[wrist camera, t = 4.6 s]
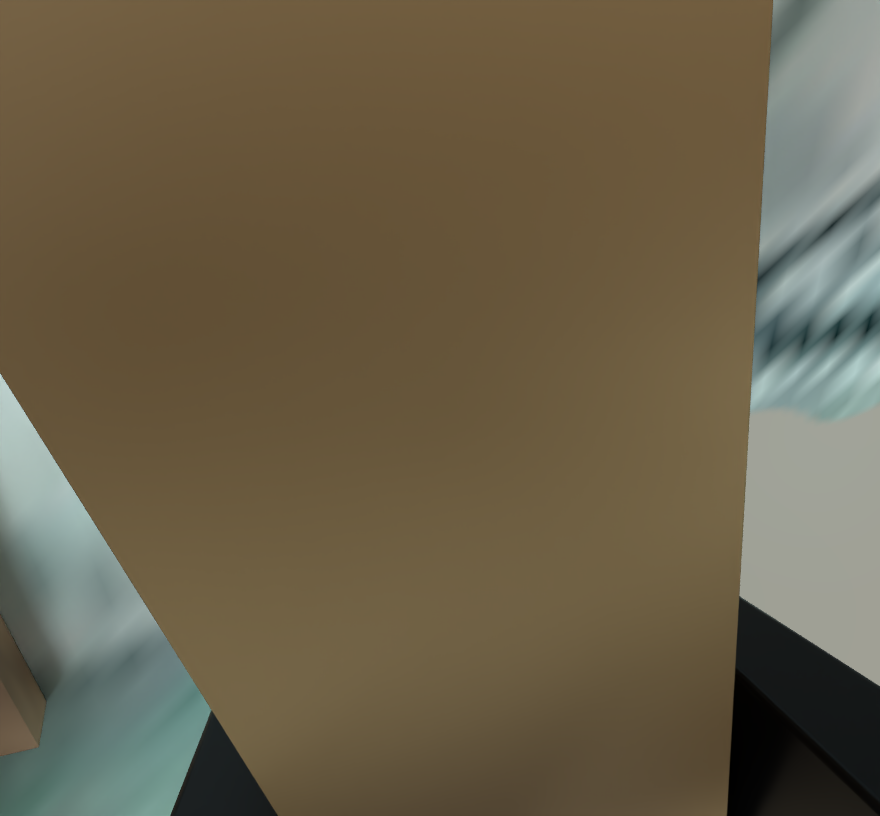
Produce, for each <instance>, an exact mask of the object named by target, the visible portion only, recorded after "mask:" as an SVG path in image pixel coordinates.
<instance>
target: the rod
mask: <svg viewBox="0 0 880 816" xmlns="http://www.w3.org/2000/svg"><path fill="white" fill-rule="evenodd" d="M772 12H773V0H0V374H1V375H2V377H3V378H4V380H5V382H6V383H7V385H8V386H9V388H10V389H11V391H12V393H13V394H14V396H15V397H16V399H17V401H18V402H19V404H20V405H21V407H22V409H23V410H24V412H25V413H26V415H27V417H28V418H29V420H30V421H31V423H32V425H33V426H34V428H35V429H36V431H37V433H38V434H39V436H40V437H41V439H42V440H43V442H44V444H45V445H46V447H47V448H48V450H49V452H50V453H51V455H52V456H53V458H54V460H55V461H56V463H57V464H58V466H59V468H60V469H61V471H62V472H63V474H64V476H65V477H66V479H67V480H68V482H69V484H70V485H71V487H72V488H73V490H74V491H75V493H76V495H77V496H78V498H79V499H80V501H81V503H82V504H83V506H84V507H85V509H86V511H87V512H88V514H89V515H90V517H91V519H92V520H93V522H94V523H95V525H96V527H97V528H98V530H99V531H100V533H101V534H102V536H103V538H104V539H105V541H106V542H107V544H108V546H109V547H110V549H111V550H112V552H113V554H114V555H115V557H116V558H117V560H118V562H119V563H120V565H121V566H122V568H123V570H124V571H125V573H126V574H127V576H128V578H129V579H130V581H131V582H132V584H133V585H134V587H135V589H136V590H137V592H138V593H139V595H140V597H141V598H142V600H143V601H144V603H145V605H146V606H147V608H148V609H149V611H150V613H151V614H152V616H153V617H154V619H155V621H156V622H157V624H158V625H159V627H160V629H161V630H162V632H163V633H164V635H165V636H166V638H167V640H168V641H169V643H170V644H171V646H172V648H173V649H174V651H175V652H176V654H177V656H178V657H179V659H180V660H181V662H182V664H183V665H184V667H185V668H186V670H187V672H188V673H189V675H190V676H191V678H192V679H193V681H194V683H195V684H196V686H197V687H198V689H199V691H200V692H201V694H202V695H203V697H204V699H205V700H206V702H207V703H208V705H209V707H210V708H211V710H212V711H213V713H214V715H215V716H216V718H217V719H218V721H219V723H220V724H221V726H222V727H223V729H224V730H225V732H226V734H227V735H228V737H229V738H230V740H231V742H232V743H233V745H234V746H235V748H236V750H237V751H238V753H239V754H240V756H241V758H242V759H243V761H244V762H245V764H246V766H247V767H248V769H249V770H250V772H251V773H252V775H253V777H254V778H255V780H256V781H257V783H258V785H259V786H260V788H261V789H262V791H263V793H264V794H265V796H266V797H267V799H268V801H269V802H270V804H271V805H272V807H273V809H274V810H275V812H276V813H277V815H278V816H727V802H728V784H729V767H730V749H731V732H732V714H733V696H734V679H735V661H736V644H737V626H738V609H739V591H740V573H741V556H742V537H743V520H744V503H745V486H746V468H747V451H748V432H749V416H750V398H751V380H752V363H753V345H754V328H755V310H756V293H757V275H758V258H759V240H760V222H761V205H762V187H763V170H764V152H765V135H766V117H767V100H768V82H769V64H770V47H771V29H772Z"/></svg>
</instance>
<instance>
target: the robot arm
mask: <svg viewBox="0 0 880 816" xmlns="http://www.w3.org/2000/svg"><path fill="white" fill-rule="evenodd" d="M170 816H278V815H277V813H276V812H275V810H274V809H273V807H272V805H271V804H270V802H269V801H268V799H267V797H266V796H265V794H264V793H263V791H262V789H261V788H260V786H259V785H258V783H257V781H256V780H255V778H254V777H253V775H252V773H251V772H250V770H249V769H248V767H247V766H246V764H245V762H244V761H243V759H242V758H241V756H240V754H239V753H238V751H237V750H236V748H235V746H234V745H233V743H232V742H231V740H230V738H229V737H228V735H227V734H226V732H225V730H224V729H223V727H222V726H221V724H220V723H219V721H218V719H217V718H216V716H215V715H214V713H213V711H212V710H211V713H210V715H209V718H208V721H207V723H206V726H205V728H204V731H203V733H202V736H201V738H200V741H199V744H198V746H197V749H196V751H195V754H194V756H193V759H192V761H191V764H190V767H189V769H188V772H187V774H186V777H185V779H184V782H183V785H182V787H181V790H180V792H179V795H178V797H177V800H176V802H175V805H174V808H173V810H172V813H171V815H170ZM727 816H880V686H878V685H877V684H875V683H874V682H872V681H870V680H869V679H868V678H866V677H864V676H863V675H861V674H860V673H858V672H857V671H855V670H854V669H852V668H850V667H849V666H847V665H846V664H844V663H843V662H841V661H840V660H838V659H836V658H835V657H833V656H832V655H830V654H828V653H827V652H826V651H824V650H822V649H821V648H819V647H818V646H816V645H815V644H813V643H811V642H810V641H808V640H807V639H805V638H804V637H802V636H801V635H799V634H797V633H796V632H794V631H793V630H791V629H790V628H788V627H787V626H785V625H783V624H782V623H780V622H779V621H777V620H776V619H774V618H773V617H771V616H769V615H768V614H766V613H764V612H763V611H762V610H760V609H758V608H757V607H755V606H754V605H752V604H750V603H749V602H748V601H746V600H744V599H743V598H741V597H740V596H739V609H738V626H737V644H736V661H735V679H734V696H733V714H732V732H731V749H730V767H729V784H728V802H727Z"/></svg>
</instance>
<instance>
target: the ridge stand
mask: <svg viewBox="0 0 880 816" xmlns="http://www.w3.org/2000/svg"><path fill="white" fill-rule="evenodd" d="M45 707H46V700H45V698H44V696H43V694H42V692H41V690H40V689H39V687H38V685H37V683H36V681H35V679H34V677H33V675H32V673H31V672H30V670H29V668H28V666H27V664H26V662H25V660H24V658H23V656H22V654H21V653H20V651H19V649H18V647H17V645H16V643H15V641H14V639H13V637H12V636H11V634H10V632H9V630H8V628H7V626H6V624H5V622H4V620H3V619H2V617H1V615H0V756H4V755H8V754H12V753H16V752H21V751H25V750H29V749H33V748H37V747H39V743H40V737H41V731H42V725H43V719H44V713H45Z"/></svg>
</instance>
